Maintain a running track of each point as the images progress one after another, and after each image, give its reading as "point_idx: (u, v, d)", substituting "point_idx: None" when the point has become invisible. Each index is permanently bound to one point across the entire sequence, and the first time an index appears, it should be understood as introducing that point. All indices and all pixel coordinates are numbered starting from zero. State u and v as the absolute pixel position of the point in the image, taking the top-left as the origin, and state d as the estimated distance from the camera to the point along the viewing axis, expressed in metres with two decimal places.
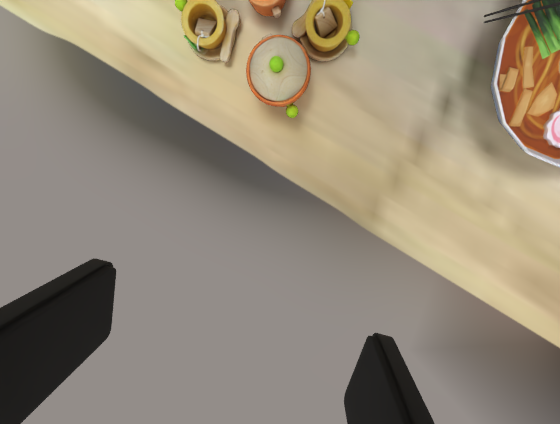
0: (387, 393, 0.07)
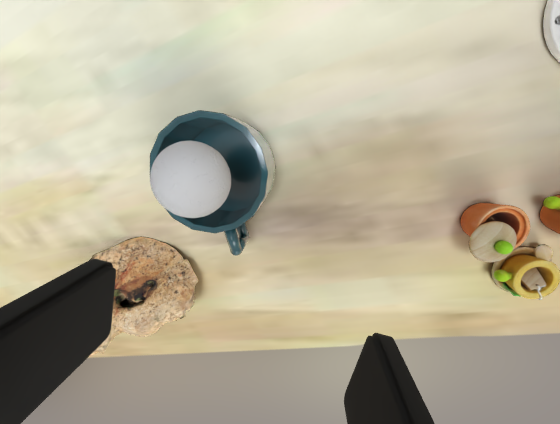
0: (387, 393, 0.07)
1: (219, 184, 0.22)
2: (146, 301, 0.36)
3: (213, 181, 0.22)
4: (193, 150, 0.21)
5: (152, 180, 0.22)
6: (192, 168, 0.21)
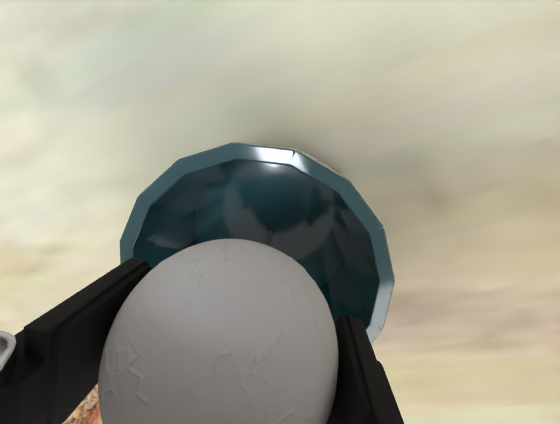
0: (349, 365, 0.07)
1: (329, 402, 0.07)
2: None
3: (317, 411, 0.06)
4: (246, 310, 0.06)
5: (102, 416, 0.06)
6: (250, 404, 0.05)
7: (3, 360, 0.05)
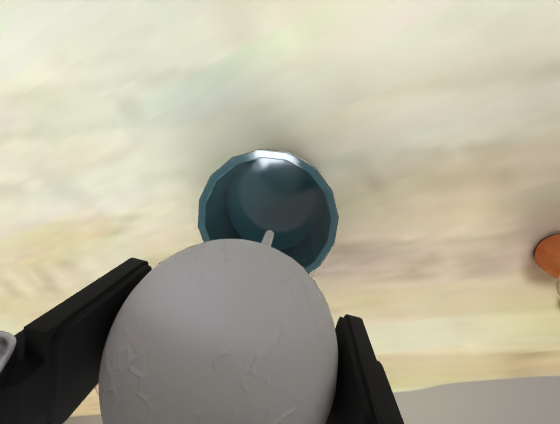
0: (349, 365, 0.07)
1: (328, 401, 0.07)
2: None
3: (317, 410, 0.06)
4: (247, 310, 0.06)
5: (102, 415, 0.06)
6: (251, 403, 0.05)
7: (3, 360, 0.05)
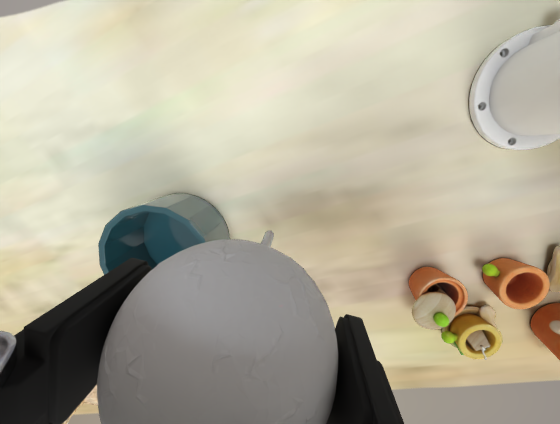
0: (349, 365, 0.07)
1: (328, 403, 0.07)
2: None
3: (317, 412, 0.06)
4: (246, 311, 0.06)
5: (100, 417, 0.06)
6: (250, 405, 0.05)
7: (3, 360, 0.05)
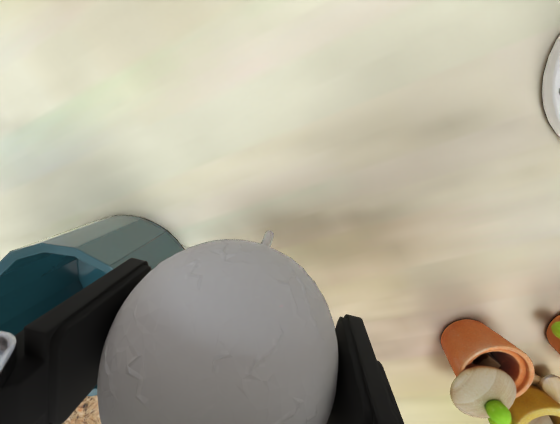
0: (349, 364, 0.07)
1: (329, 403, 0.07)
2: None
3: (317, 412, 0.06)
4: (246, 311, 0.06)
5: (101, 417, 0.06)
6: (250, 405, 0.05)
7: (3, 360, 0.05)
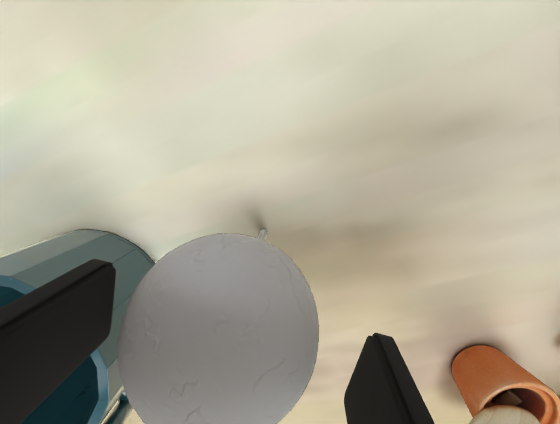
0: (387, 393, 0.07)
1: (309, 365, 0.08)
2: None
3: (298, 370, 0.08)
4: (241, 288, 0.07)
5: (122, 376, 0.07)
6: (243, 358, 0.07)
7: None
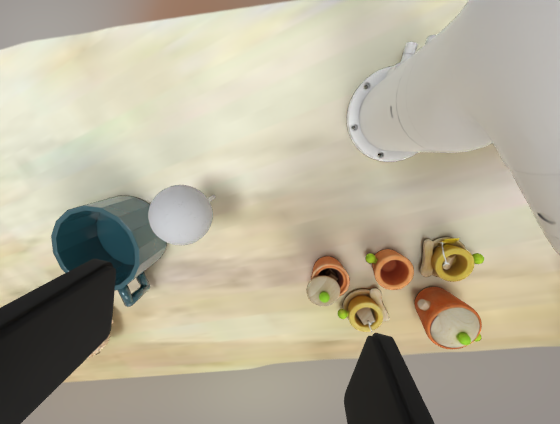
0: (387, 393, 0.07)
1: (202, 219, 0.29)
2: None
3: (197, 218, 0.28)
4: (181, 195, 0.28)
5: (150, 218, 0.28)
6: (180, 210, 0.27)
7: None
